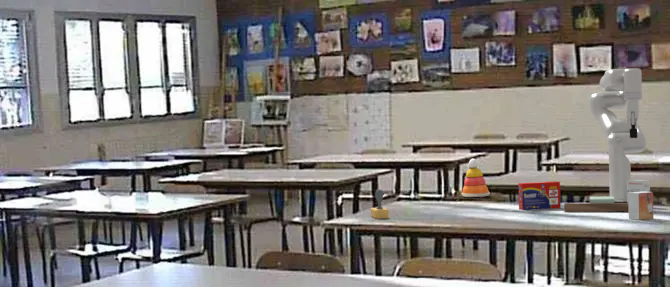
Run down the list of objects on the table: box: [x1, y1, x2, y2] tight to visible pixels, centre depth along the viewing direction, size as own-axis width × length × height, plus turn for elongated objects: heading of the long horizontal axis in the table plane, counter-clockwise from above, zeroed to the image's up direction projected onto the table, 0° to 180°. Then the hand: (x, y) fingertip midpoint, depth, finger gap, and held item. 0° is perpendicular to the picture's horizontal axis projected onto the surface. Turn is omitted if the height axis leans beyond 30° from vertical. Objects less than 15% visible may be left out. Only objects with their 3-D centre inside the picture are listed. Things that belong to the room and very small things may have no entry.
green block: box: [589, 195, 615, 203], centre depth 418 cm, size 12×10×6 cm
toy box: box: [518, 181, 562, 211], centre depth 430 cm, size 18×4×12 cm, turn 104°
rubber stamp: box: [370, 188, 390, 220], centre depth 415 cm, size 10×6×12 cm, turn 10°
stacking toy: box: [461, 158, 491, 198], centre depth 495 cm, size 14×14×20 cm
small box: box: [628, 191, 654, 221], centre depth 382 cm, size 8×6×10 cm
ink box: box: [626, 179, 651, 203], centre depth 425 cm, size 8×5×12 cm, turn 39°
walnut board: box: [563, 202, 629, 213], centre depth 412 cm, size 2×28×4 cm, turn 75°
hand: (633, 137), depth 433 cm, fingers closed
